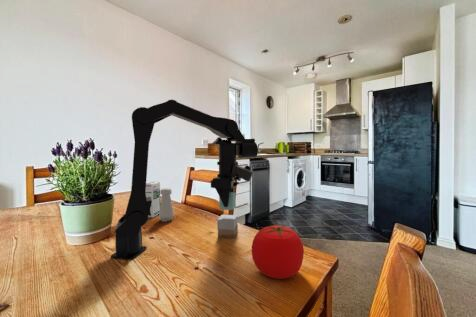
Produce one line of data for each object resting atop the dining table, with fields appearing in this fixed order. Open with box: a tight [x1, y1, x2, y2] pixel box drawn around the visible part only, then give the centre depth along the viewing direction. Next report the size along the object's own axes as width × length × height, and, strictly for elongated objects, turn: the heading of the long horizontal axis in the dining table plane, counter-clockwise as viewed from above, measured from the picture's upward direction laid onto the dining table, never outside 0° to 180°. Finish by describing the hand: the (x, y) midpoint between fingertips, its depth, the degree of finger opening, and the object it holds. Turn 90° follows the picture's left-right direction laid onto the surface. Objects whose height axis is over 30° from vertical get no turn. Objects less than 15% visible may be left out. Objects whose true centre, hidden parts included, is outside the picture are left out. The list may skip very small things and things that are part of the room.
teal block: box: [218, 191, 237, 211], centre depth 69 cm, size 4×4×5 cm
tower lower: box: [217, 223, 239, 239], centre depth 69 cm, size 6×6×3 cm
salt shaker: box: [158, 187, 175, 223], centre depth 84 cm, size 6×6×13 cm
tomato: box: [251, 224, 305, 280], centre depth 48 cm, size 12×12×10 cm
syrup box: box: [146, 181, 161, 218], centre depth 90 cm, size 6×6×14 cm
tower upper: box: [216, 214, 238, 230], centre depth 69 cm, size 6×6×3 cm
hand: (227, 205), depth 69 cm, fingers closed on teal block, 4 cm apart
